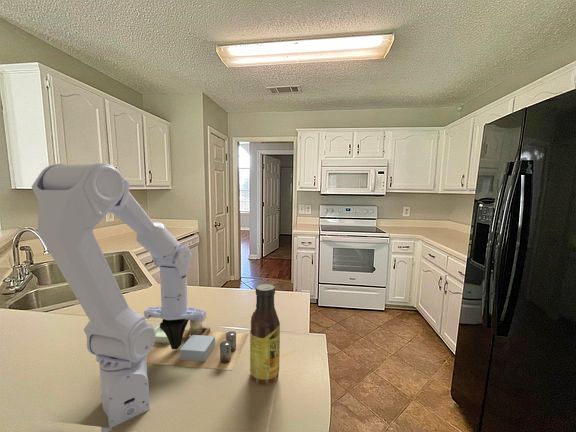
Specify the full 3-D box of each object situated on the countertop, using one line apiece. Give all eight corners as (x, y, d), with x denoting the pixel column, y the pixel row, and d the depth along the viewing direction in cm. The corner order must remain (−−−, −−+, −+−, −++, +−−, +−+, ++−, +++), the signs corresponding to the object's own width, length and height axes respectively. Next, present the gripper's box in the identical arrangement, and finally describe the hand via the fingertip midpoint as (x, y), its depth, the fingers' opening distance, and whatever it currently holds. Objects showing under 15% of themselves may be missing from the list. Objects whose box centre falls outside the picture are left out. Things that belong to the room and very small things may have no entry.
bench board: (248, 336, 69) (248, 329, 69) (232, 373, 55) (232, 365, 55) (162, 330, 71) (161, 324, 71) (125, 364, 57) (125, 356, 57)
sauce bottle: (275, 391, 50) (275, 295, 48) (245, 385, 52) (244, 292, 50) (282, 368, 57) (283, 283, 55) (256, 364, 58) (255, 280, 56)
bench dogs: (237, 346, 63) (237, 331, 63) (229, 364, 57) (228, 347, 56) (228, 346, 63) (227, 331, 63) (218, 363, 57) (218, 346, 57)
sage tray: (183, 330, 70) (183, 324, 70) (170, 344, 64) (170, 337, 64) (161, 328, 71) (161, 322, 71) (146, 342, 65) (146, 335, 64)
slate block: (215, 345, 63) (215, 336, 63) (205, 361, 58) (204, 351, 57) (192, 343, 64) (192, 334, 64) (180, 359, 58) (179, 349, 58)
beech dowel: (204, 336, 67) (203, 315, 67) (192, 341, 65) (192, 319, 65) (200, 331, 69) (199, 311, 69) (189, 335, 68) (188, 314, 67)
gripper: (210, 287, 63) (211, 339, 65) (155, 285, 64) (158, 335, 66) (197, 300, 56) (199, 357, 58) (136, 296, 57) (139, 352, 59)
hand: (176, 346), depth 61 cm, fingers closed
